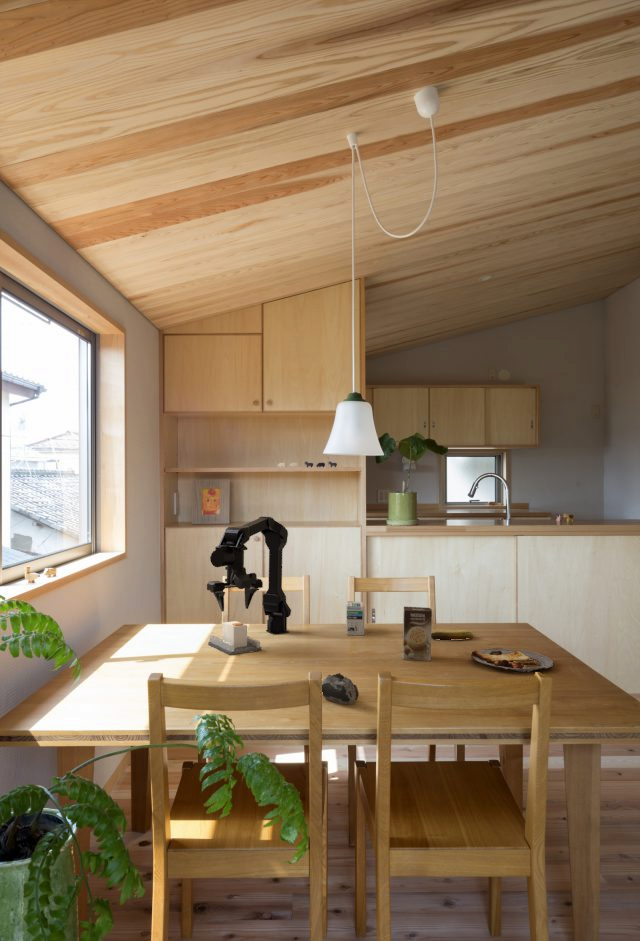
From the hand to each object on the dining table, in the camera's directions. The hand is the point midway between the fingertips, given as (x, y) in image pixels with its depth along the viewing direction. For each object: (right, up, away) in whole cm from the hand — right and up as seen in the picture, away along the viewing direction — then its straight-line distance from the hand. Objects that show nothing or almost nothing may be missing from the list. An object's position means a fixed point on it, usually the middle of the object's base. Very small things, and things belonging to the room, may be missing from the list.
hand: (234, 610), depth 239 cm
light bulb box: (+42, -14, +25) cm, 51 cm away
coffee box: (+60, -14, -11) cm, 63 cm away
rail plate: (0, -13, 0) cm, 13 cm away
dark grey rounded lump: (+35, -13, -53) cm, 65 cm away
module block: (0, -12, 0) cm, 12 cm away
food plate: (+90, -14, -17) cm, 92 cm away
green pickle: (+78, -15, +17) cm, 81 cm away
